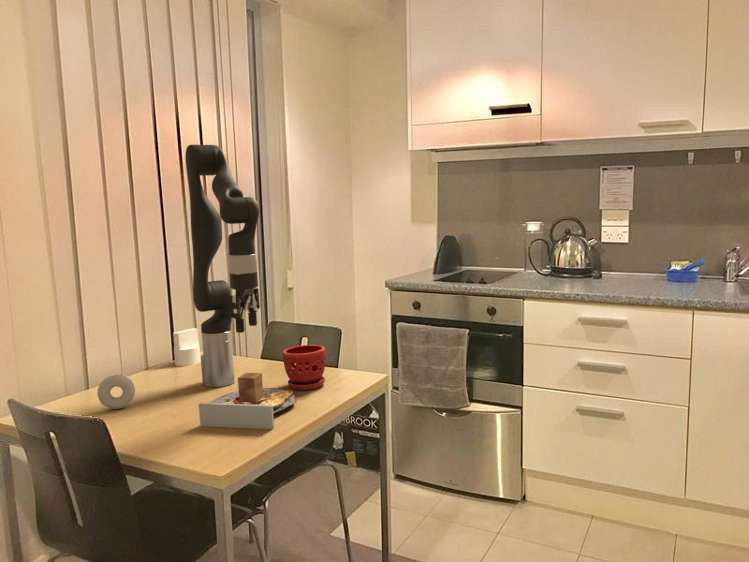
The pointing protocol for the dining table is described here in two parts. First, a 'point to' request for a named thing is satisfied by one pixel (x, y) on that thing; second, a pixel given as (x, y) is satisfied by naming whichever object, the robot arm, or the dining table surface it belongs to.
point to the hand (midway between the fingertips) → (246, 328)
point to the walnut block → (250, 387)
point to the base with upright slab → (186, 347)
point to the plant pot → (305, 366)
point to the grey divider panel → (236, 415)
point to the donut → (116, 382)
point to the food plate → (274, 395)
